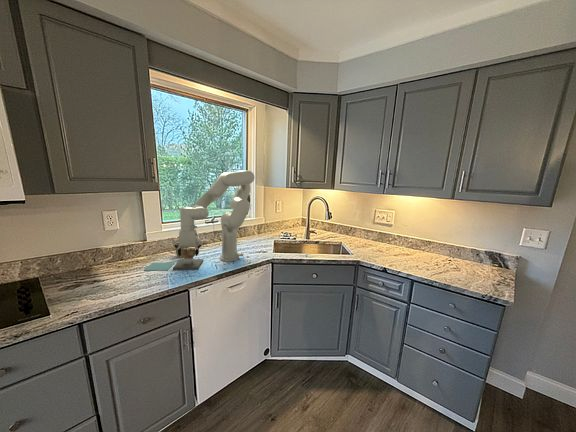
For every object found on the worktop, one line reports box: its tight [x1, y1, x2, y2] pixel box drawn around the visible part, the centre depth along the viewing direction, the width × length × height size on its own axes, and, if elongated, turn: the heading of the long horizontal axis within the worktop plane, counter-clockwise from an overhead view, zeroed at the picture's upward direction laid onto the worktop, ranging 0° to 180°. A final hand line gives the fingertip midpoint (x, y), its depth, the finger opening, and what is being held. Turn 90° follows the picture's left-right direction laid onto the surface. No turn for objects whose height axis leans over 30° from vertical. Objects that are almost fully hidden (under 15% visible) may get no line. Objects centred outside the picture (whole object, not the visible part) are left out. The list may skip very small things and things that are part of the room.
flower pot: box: [174, 242, 189, 258], centre depth 162 cm, size 9×9×9 cm
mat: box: [143, 261, 176, 272], centre depth 143 cm, size 13×12×1 cm
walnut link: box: [180, 247, 196, 259], centre depth 146 cm, size 7×7×4 cm
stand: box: [172, 247, 204, 271], centre depth 146 cm, size 14×14×11 cm
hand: (188, 255), depth 146 cm, fingers open, 9 cm apart
